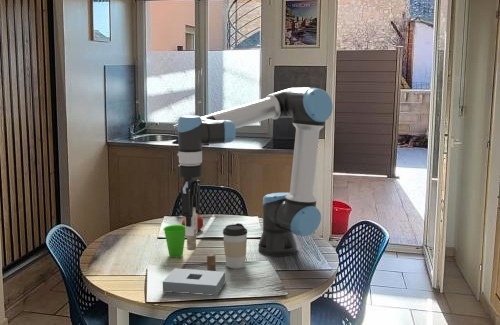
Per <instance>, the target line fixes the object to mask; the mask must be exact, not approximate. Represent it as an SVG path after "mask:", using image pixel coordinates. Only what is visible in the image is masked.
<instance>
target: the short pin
mask: <svg viewBox="0 0 500 325" xmlns="http://www.w3.org/2000/svg"><path fill="white" fill-rule="evenodd" d="M216 264H217V263H216V254H213V253H211V254H210V253H209V254H207V255H206V271H217V270H216V269H217V268H216Z"/></svg>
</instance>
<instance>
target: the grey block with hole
mask: <svg viewBox="0 0 500 325" xmlns="http://www.w3.org/2000/svg"><path fill="white" fill-rule="evenodd" d="M224 282H225V283H226V271H217V270H216V271H207V269H206V270H203V269H190V268H176V267H174V268H173V270H172V271H171V272H170V273H169V274H168V275H167V276H166V277H165V278H164V279H163V281H162V292H163V291H172V292H189V293H203V294H212V295H217V296H218V294H219V293H218V291H219V290H220V291H221V289H222V288H223V286H224V285H225V283H224ZM222 285H223V286H222ZM221 287H222V288H221ZM220 288H221V289H220ZM220 291H219V292H220ZM172 292H171V293H172ZM217 293H218V294H217Z"/></svg>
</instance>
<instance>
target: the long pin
mask: <svg viewBox="0 0 500 325" xmlns="http://www.w3.org/2000/svg"><path fill="white" fill-rule="evenodd" d="M193 216H194V236H186V250H188V251H196V250H197V233H196V208H195V207H193Z"/></svg>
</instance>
